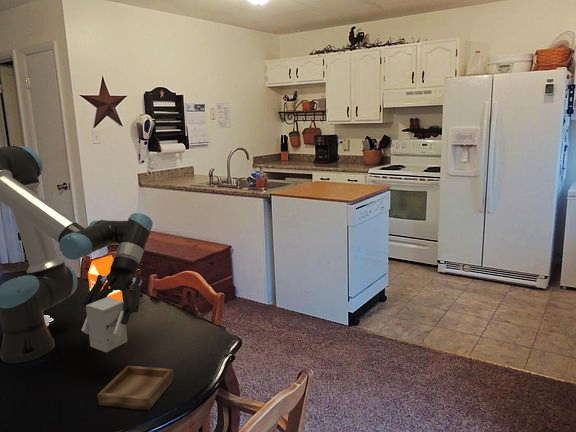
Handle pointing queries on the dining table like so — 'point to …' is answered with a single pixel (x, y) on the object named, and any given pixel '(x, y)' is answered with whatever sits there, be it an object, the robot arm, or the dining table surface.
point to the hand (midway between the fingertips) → (100, 333)
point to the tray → (136, 387)
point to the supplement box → (105, 323)
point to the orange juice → (103, 269)
